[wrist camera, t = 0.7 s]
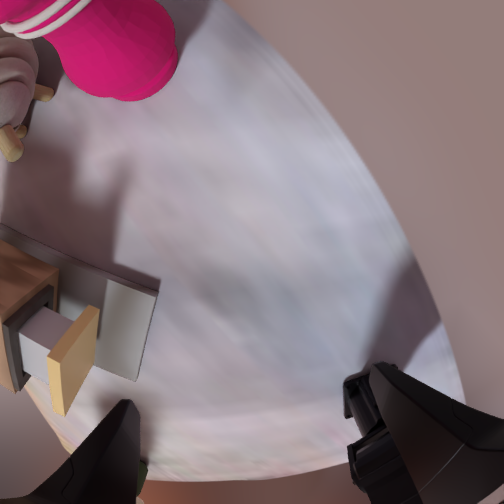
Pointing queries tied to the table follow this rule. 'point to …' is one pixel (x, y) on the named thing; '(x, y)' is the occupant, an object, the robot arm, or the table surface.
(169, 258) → the table surface
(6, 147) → the toy sheep
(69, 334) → the tan drawer
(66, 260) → the wooden drawer box
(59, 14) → the pepper mill
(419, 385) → the robot arm
